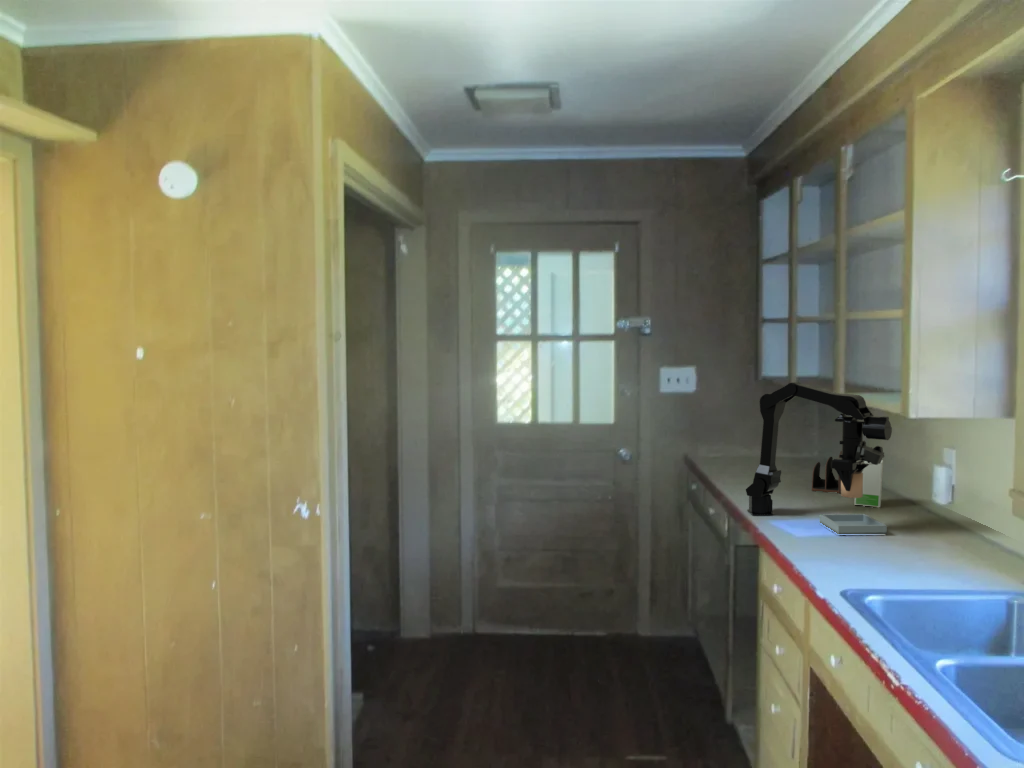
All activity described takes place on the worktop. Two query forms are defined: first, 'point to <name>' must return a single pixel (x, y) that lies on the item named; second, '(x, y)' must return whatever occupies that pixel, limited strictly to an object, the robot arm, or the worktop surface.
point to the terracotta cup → (854, 487)
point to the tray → (853, 524)
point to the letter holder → (829, 482)
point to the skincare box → (871, 485)
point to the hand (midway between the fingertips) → (851, 489)
